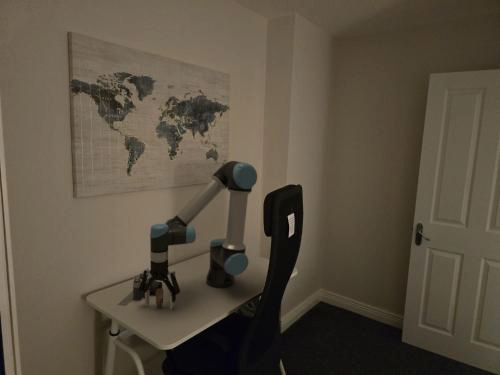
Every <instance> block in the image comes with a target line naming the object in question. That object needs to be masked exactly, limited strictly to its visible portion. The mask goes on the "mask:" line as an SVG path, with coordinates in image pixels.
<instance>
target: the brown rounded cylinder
mask: <svg viewBox="0 0 500 375" xmlns="http://www.w3.org/2000/svg"><path fill="white" fill-rule="evenodd" d="M155 304H156V308H157V309H162V308H163V304H164V288H162V289H157V290H156V292H155Z"/></svg>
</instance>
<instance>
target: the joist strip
mask: <svg viewBox="0 0 500 375" xmlns="http://www.w3.org/2000/svg"><path fill="white" fill-rule="evenodd" d="M133 300H134V299H133V290H132V291H131V292H130V293H129V294H128V295H126V296H125V297H124V298H123V299H122V300H121V301H120V302H118V303H117V305H118V306H119V305H120V306H127V305H128V304H129V303H130V302H132V301H133Z"/></svg>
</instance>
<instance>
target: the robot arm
mask: <svg viewBox="0 0 500 375" xmlns="http://www.w3.org/2000/svg"><path fill="white" fill-rule="evenodd" d="M257 182H258V173H257V170H256V169H255V167H254V166H253V165H251V164H250V163H248V162H244V161H243V162H242V161H237V160H230V161H227V162H225V163H224V164H223V165H221V167H219V168H218V169H217V170H216V171H215V172H214V173H213V174H212V175H211V179H210V180H209V181H208V182H207V183H206V184H205V185H204V186H203V188H201V189H200V191H198V192H197V193H196V194H195V195H194V197H193V198H192V199H191V200H189V202H188V203H187V204H186V205H185V206H184V207H183V208H182V209H181V210H180V211H179V212H178V213H177V214H176V215H175V216H174V217H173V218H169V219H168V220H166V221H165V223H156V224H152V225H151V227H150V234H149V238H150V239H149V241H150V253H149V254H150V255H149V256H150V269H151V270H150V269H149V268H145V269H144V270H143V272H144V276H143V279H142V281H141V284H140V287H139V290H140V291H143V297H142V299H144V307H148V306H149V305H150V293H149V290H148V288H149V287H150V285H151V284H152V282H153V281H154V279H155V281H158V282H159V281H160V282H162V284H163V283H164V284H165V286H166V288H167V289H168V292H169V293H170V295H169V310H173V308H174V307H175V302H176V300H177V295H179V294H180V293H181V289H180V286H179V283H178V280H177V278H176V271H174V270H173V271H169V247H170V246H178V245H188V244H193V243H195V241H196V239H197V236H196V235H197V233H196V229H195V228H194V226H189V225H190V224H191V223H192V222H193V220H195V218H197V217H198V216H199V214H200V213H201V212H202V211H203V210H204V209H206V207H207V206H208V205H209V204H210V203H211V202H212V201H213V200H214V199H215V198H216V197H217V196H218V195H219V194H220V193H221V192H222V190H226V189H227V191H228V192H229V202H228V214H227V224H226V235H225V238H215V239H212V240H211V241H210V243H209V244H210V245H209V269H208V271H207V275H206V277H205V278H206V279H205V280H206V281H205V283H206V284H207V285H208V286H210V287H213V288H221V289H222V288H228V287H231V286H233V285H234V284H235V280H236V279H235V276H239V275H241V274H243V273H244V272H245V271H246V270H247V268H248V267H249V258H248V256H247V254H246V249H247V246H246V245H245V243H244V238H245V228H246V218H247V217H246V216H247V208H248V198H249V194H252V189H253V187H254V185H256V184H257ZM149 273H150V274H151V275H152V278H151V279H150V281H149V282H148V284H147V285H146V286H145V283H146V280H147V277H148V274H149ZM144 286H145V287H144Z"/></svg>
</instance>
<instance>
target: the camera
mask: <svg viewBox="0 0 500 375" xmlns="http://www.w3.org/2000/svg"><path fill="white" fill-rule="evenodd" d="M149 270H151V268H150V269H149ZM143 276H144V271H142V272H141V273H140V275H139V276H137V277H136V278H134V280H133V282H132V285H133V286H132V291H133V299H132V300H134V301H139V302H140V301H141V300H142V299H143V291H140V290H139V287H140V284H141V281H142V279H143ZM151 278H152V275H151V274H150V273H149V274H148V277H147V280H146V283H145V286H146V285H147V284H148V282H149V281H150V279H151ZM145 286H144V287H145ZM157 289H163V281H159V280H155V279H154V281H153V282H152V284H151V285H150V287H149V288H148V290H149V294H150V293H156V290H157Z"/></svg>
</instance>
